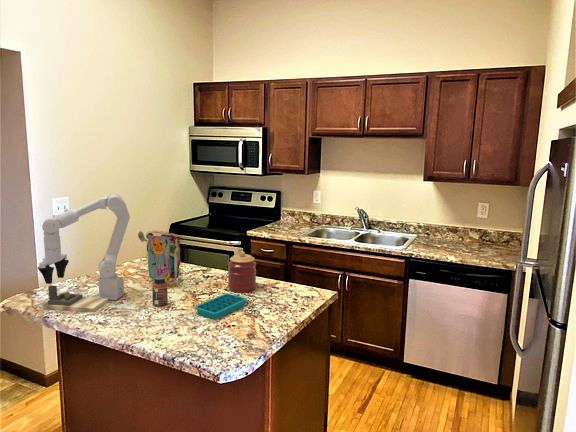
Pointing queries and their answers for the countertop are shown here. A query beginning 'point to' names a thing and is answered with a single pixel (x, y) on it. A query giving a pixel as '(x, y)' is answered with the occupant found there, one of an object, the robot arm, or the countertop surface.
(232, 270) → the canister
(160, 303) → the supplement bottle
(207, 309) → the ice cube tray
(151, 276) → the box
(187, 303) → the countertop surface
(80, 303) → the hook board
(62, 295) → the dark grey frame stand
